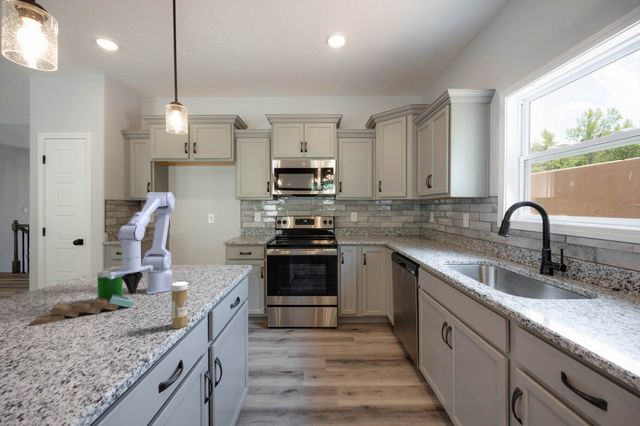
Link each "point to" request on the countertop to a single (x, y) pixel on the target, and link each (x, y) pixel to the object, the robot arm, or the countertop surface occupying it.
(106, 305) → the domino
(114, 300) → the loose domino
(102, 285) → the soda can
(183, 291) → the sprinkles bottle
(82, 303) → the domino
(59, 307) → the domino
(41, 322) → the domino
